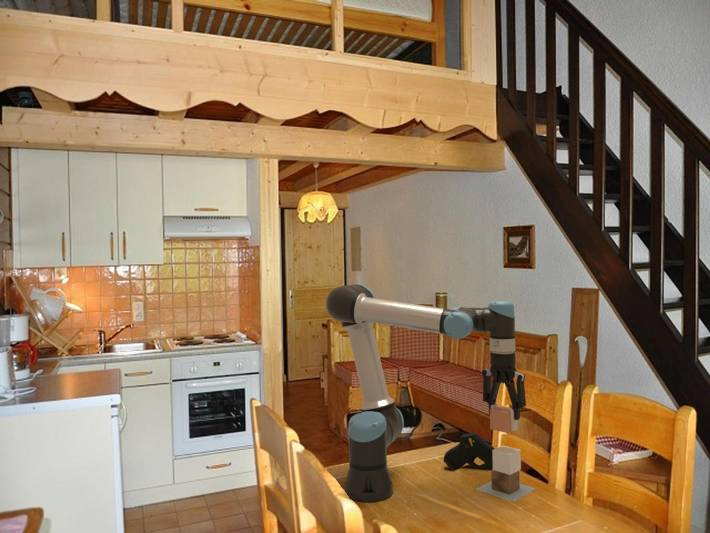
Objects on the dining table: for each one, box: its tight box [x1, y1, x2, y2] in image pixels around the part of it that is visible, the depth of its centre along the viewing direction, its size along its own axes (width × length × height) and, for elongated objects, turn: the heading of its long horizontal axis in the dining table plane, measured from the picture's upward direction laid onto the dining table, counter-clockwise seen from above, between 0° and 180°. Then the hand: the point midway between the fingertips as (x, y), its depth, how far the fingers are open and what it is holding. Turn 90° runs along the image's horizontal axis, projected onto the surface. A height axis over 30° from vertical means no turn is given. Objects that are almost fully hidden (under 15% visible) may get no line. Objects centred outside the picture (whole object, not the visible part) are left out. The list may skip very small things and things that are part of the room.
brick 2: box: [490, 469, 521, 495], centre depth 167 cm, size 6×6×6 cm
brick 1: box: [489, 405, 520, 434], centre depth 167 cm, size 6×6×6 cm
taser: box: [443, 432, 496, 472], centre depth 186 cm, size 4×18×15 cm
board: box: [475, 480, 536, 503], centre depth 167 cm, size 13×13×1 cm
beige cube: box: [492, 445, 522, 475], centre depth 167 cm, size 6×6×6 cm
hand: (504, 427), depth 167 cm, fingers closed on brick 1, 6 cm apart
